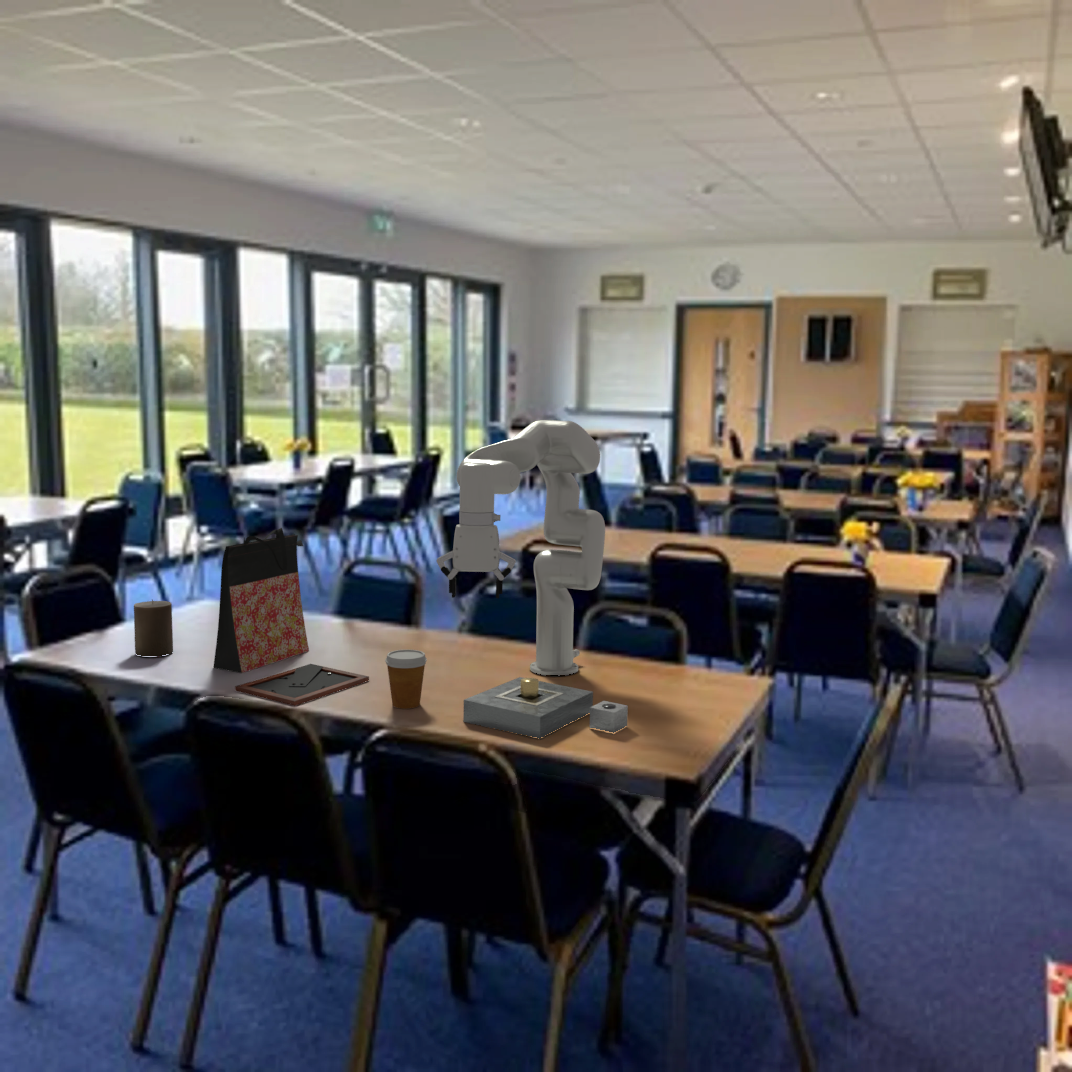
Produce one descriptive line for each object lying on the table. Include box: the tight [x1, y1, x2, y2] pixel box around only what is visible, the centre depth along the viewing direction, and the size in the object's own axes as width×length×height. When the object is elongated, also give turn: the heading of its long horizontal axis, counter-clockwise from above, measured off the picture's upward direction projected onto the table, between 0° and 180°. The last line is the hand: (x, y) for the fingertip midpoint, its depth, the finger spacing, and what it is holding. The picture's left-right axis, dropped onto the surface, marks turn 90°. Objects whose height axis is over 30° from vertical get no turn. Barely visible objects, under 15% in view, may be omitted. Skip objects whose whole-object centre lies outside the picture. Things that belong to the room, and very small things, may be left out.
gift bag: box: [213, 527, 310, 674], centre depth 276 cm, size 29×14×35 cm, turn 152°
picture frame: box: [234, 663, 370, 707], centre depth 254 cm, size 20×2×25 cm
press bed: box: [462, 676, 594, 740], centre depth 232 cm, size 22×20×5 cm
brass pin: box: [520, 677, 540, 700], centre depth 232 cm, size 4×4×5 cm
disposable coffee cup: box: [384, 649, 428, 710], centre depth 239 cm, size 10×10×12 cm
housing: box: [588, 700, 629, 733], centre depth 226 cm, size 6×6×5 cm
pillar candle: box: [133, 599, 174, 656], centre depth 280 cm, size 10×10×15 cm
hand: (475, 596), depth 229 cm, fingers open, 9 cm apart
